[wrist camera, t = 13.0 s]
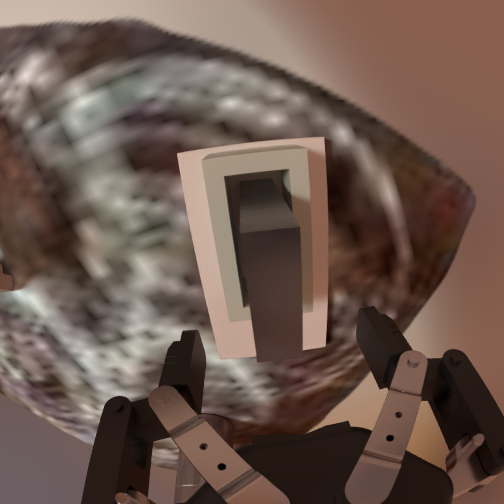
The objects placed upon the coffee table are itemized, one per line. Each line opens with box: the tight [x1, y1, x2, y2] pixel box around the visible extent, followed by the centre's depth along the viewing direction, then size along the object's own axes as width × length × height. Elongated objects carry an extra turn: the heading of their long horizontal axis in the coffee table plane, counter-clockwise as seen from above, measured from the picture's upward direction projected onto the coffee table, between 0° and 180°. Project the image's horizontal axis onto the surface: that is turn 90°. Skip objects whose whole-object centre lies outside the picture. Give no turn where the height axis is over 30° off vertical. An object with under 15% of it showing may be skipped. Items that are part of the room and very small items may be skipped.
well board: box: [177, 137, 328, 359], centre depth 29 cm, size 26×14×6 cm, turn 6°
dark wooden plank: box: [240, 178, 303, 363], centre depth 22 cm, size 9×3×14 cm, turn 6°
